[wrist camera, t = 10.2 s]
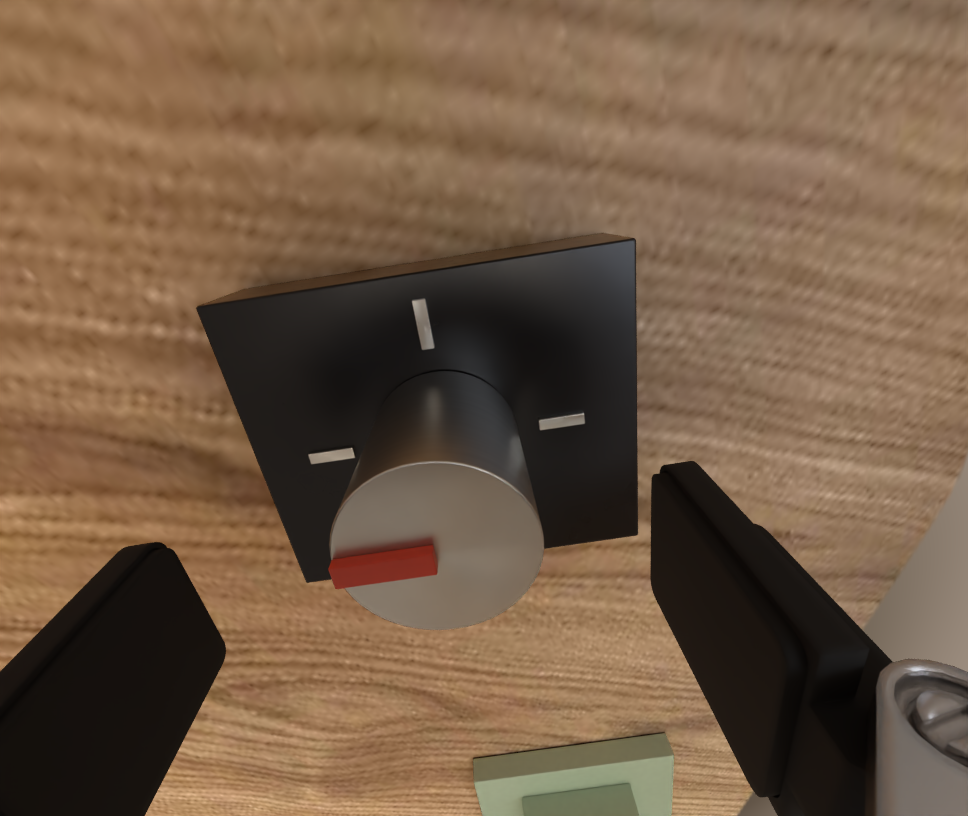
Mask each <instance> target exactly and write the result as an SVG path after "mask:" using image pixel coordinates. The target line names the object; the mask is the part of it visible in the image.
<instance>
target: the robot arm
mask: <svg viewBox="0 0 968 816" xmlns="http://www.w3.org/2000/svg"><path fill="white" fill-rule="evenodd" d="M651 585H652V590H653V593H654V596H655V598H656V600H657V602H658V604H659V606H660V608H661V610H662V612H663V614H664V616H665V618H666V620H667V622H668V624H669V626H670V628H671V630H672V632H673V634H674V636H675V638H676V640H677V642H678V644H679V646H680V648H681V650H682V652H683V654H684V656H685V658H686V660H687V662H688V664H689V666H690V668H691V670H692V672H693V674H694V676H695V678H696V680H697V682H698V684H699V686H700V688H701V690H702V692H703V694H704V696H705V698H706V699H707V701H708V703H709V705H710V707H711V709H712V711H713V713H714V715H715V717H716V719H717V721H718V723H719V725H720V727H721V729H722V731H723V733H724V735H725V737H726V739H727V741H728V743H729V745H730V747H731V749H732V751H733V753H734V755H735V757H736V759H737V761H738V763H739V765H740V767H741V769H742V771H743V773H744V775H745V777H746V779H747V781H748V783H749V784H750V786H751V788H752V789H753V791H754V792H755V793H756V794H757V795H758V796H759V797H768V798H769V800H770V802H771V804H772V806H773V807H774V810H775V811H776V813H777V815H778V816H968V672H966V671H964V670H961V669H959V668H957V667H954V666H950V665H947V664H942V663H939V662H935V661H931V660H919V659H905V660H901V661H897V662H892V661H891V660H890V659H889V658H888V657H887V655H886V654H884V652H883V651H882V650H881V649H880V648H879V647H878V646H877V645H876V644H875V643H874V642H873V641H872V640H871V639H870V638H869V637H868V636H867V635H866V634H865V632H864V631H863V630H862V629H861V628H860V627H859V626H858V625H857V624H856V623H855V622H854V621H853V620H852V619H851V618H850V617H849V616H848V615H847V614H846V613H845V612H844V610H843V609H842V608H841V607H840V606H839V605H838V604H837V603H836V602H835V601H834V600H833V599H832V598H831V597H830V596H829V595H828V594H827V593H826V592H825V591H824V590H823V588H822V587H821V586H820V585H819V584H818V583H817V582H816V581H815V580H814V579H813V578H812V577H811V576H810V575H809V574H808V573H807V572H806V571H805V570H804V569H803V568H802V567H801V565H800V564H799V563H798V562H797V561H796V560H795V559H794V558H793V557H792V556H791V555H790V554H789V553H788V552H787V551H786V550H785V549H784V548H783V547H782V546H781V545H780V543H779V542H778V541H777V540H776V539H775V538H774V537H773V536H772V535H771V534H770V533H769V532H768V531H767V530H765V529H764V528H763V527H762V526H759V525H757V524H753V523H752V522H751V521H750V519H749V518H748V517H747V516H746V515H745V514H744V513H743V512H742V511H741V510H740V509H739V508H738V507H737V506H736V504H735V503H734V502H733V501H732V500H731V499H730V498H729V497H728V496H727V495H726V494H725V493H724V492H723V491H722V489H721V488H720V487H719V486H718V485H717V484H716V483H715V482H714V481H713V480H712V479H711V478H710V477H709V476H708V474H707V473H706V472H705V471H704V470H703V469H702V468H701V467H700V466H699V465H698V464H697V463H696V462H694V461H688V462H681V463H675V464H668V465H663V466H662V467H661V469H660V474H654V475H653V477H652V489H651ZM225 654H226V647H225V643H224V641H223V639H222V637H221V635H220V633H219V631H218V630H217V628H216V626H215V624H214V622H213V620H212V619H211V617H210V615H209V613H208V611H207V609H206V608H205V606H204V604H203V602H202V600H201V598H200V597H199V595H198V593H197V591H196V589H195V588H194V586H193V584H192V582H191V580H190V578H189V577H188V575H187V573H186V571H185V569H184V567H183V566H182V564H181V562H180V560H179V558H178V556H177V555H176V553H175V552H174V550H172V549H170V548H167V547H166V545H164V544H162V543H159V542H154V543H147V544H140V545H134V546H128V547H125V548H123V549H121V550H120V551H119V552H118V553H117V554H116V555H115V556H114V557H113V558H112V559H111V560H110V561H109V562H108V563H107V564H106V565H105V566H104V567H103V568H102V569H101V570H100V571H99V572H98V573H97V574H96V575H95V576H94V577H93V578H92V579H91V580H90V581H89V582H88V583H87V584H86V585H85V586H84V587H83V588H82V589H81V590H80V591H79V592H78V593H77V594H76V595H75V596H74V597H73V598H72V599H71V600H70V601H69V602H68V603H67V604H66V605H65V606H64V607H63V608H62V609H61V610H60V611H59V612H58V614H57V615H56V616H55V617H54V618H53V619H52V620H51V621H50V622H49V623H48V624H47V625H46V626H45V627H44V628H43V629H42V630H41V631H40V632H39V633H38V634H37V635H36V636H35V637H34V638H33V639H32V640H31V641H30V642H29V643H28V644H27V645H26V646H25V647H24V648H23V649H22V650H21V651H20V652H19V653H18V654H17V655H16V656H15V657H14V658H13V659H12V660H11V661H10V662H9V663H8V664H7V665H6V666H5V667H4V668H3V669H2V670H1V671H0V816H145V814H146V812H147V810H148V808H149V806H150V804H151V802H152V800H153V798H154V796H155V794H156V793H157V791H158V789H159V787H160V785H161V783H162V781H163V779H164V777H165V775H166V773H167V771H168V769H169V767H170V765H171V763H172V761H173V760H174V758H175V756H176V754H177V752H178V750H179V748H180V746H181V744H182V742H183V740H184V738H185V736H186V734H187V732H188V730H189V728H190V726H191V725H192V723H193V721H194V719H195V717H196V715H197V713H198V711H199V709H200V707H201V705H202V703H203V701H204V699H205V697H206V695H207V693H208V692H209V690H210V688H211V686H212V684H213V682H214V680H215V678H216V676H217V674H218V672H219V670H220V668H221V666H222V664H223V662H224V659H225Z"/></svg>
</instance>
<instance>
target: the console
mask: <svg viewBox="0 0 968 816" xmlns="http://www.w3.org/2000/svg"><path fill="white" fill-rule="evenodd" d="M196 309H197V312H198V314H199V317H200V319H201V322H202V324H203V327H204V329H205V332H206V334H207V337H208V339H209V342H210V344H211V347H212V349H213V352H214V354H215V357H216V359H217V362H218V364H219V366H220V369H221V371H222V374H223V376H224V379H225V381H226V384H227V386H228V389H229V391H230V394H231V396H232V399H233V401H234V404H235V406H236V409H237V411H238V414H239V416H240V419H241V421H242V424H243V426H244V429H245V431H246V434H247V436H248V439H249V441H250V444H251V446H252V448H253V451H254V453H255V456H256V458H257V461H258V463H259V466H260V468H261V471H262V473H263V476H264V478H265V481H266V483H267V486H268V488H269V491H270V493H271V496H272V498H273V501H274V503H275V506H276V508H277V511H278V513H279V516H280V518H281V521H282V523H283V526H284V528H285V531H286V533H287V535H288V538H289V540H290V543H291V545H292V548H293V550H294V553H295V555H296V558H297V560H298V563H299V565H300V568H301V570H302V573H303V575H304V578H305V580H306V582H307V583H309V582H316V581H323V580H330V579H332V578H331V576H330V573H329V570H328V568H329V566H330V563H331V555H330V533H331V529H332V525H333V522H334V519H335V517H336V514H337V512H338V510H339V507H340V505H341V502H342V500H343V497H344V495H345V493H346V490H347V488H348V485H349V483H350V481H351V478H352V476H353V473H354V471H355V468H356V466H357V464H358V461H359V459H360V456H361V454H362V452H363V449H364V447H365V444H366V442H367V439H368V437H369V435H370V432H371V430H372V427H373V425H374V423H375V420H376V418H377V415H378V413H379V411H380V408H381V406H382V405H383V403H384V401H385V400H386V399H387V397H388V396H389V395H390V394H391V393H392V392H393V391H394V390H395V389H396V388H397V387H398V386H400V385H401V384H403V383H404V382H406V381H408V380H410V379H412V378H414V377H416V376H419V375H422V374H426V373H430V372H438V371H453V372H460V373H464V374H468V375H471V376H474V377H476V378H478V379H481V380H482V381H484V382H486V383H487V384H489V385H490V386H492V387H493V388H494V389H495V390H497V391H498V392H499V393H500V394H501V396H502V397H503V398H504V399H505V401H506V402H507V403H508V405H509V407H510V409H511V411H512V413H513V416H514V418H515V422H516V426H517V430H518V434H519V438H520V442H521V446H522V450H523V454H524V458H525V462H526V466H527V470H528V474H529V478H530V482H531V486H532V490H533V494H534V498H535V502H536V506H537V510H538V514H539V518H540V522H541V526H542V531H543V536H544V549H546V548H552V547H559V546H566V545H573V544H580V543H587V542H594V541H601V540H608V539H615V538H622V537H629V536H636V535H638V463H637V329H636V240H635V238H630V237H624V236H618V235H612V234H606V233H599V234H593V235H587V236H580V237H574V238H567V239H561V240H555V241H548V242H542V243H535V244H529V245H523V246H516V247H510V248H503V249H497V250H491V251H484V252H478V253H471V254H465V255H459V256H452V257H446V258H440V259H433V260H427V261H420V262H414V263H408V264H401V265H395V266H388V267H382V268H376V269H369V270H363V271H356V272H350V273H344V274H337V275H331V276H324V277H318V278H312V279H305V280H299V281H292V282H286V283H280V284H273V285H267V286H260V287H254V288H248V289H243V290H240V291H238V292H235V293H232V294H230V295H227V296H224V297H221V298H219V299H216V300H213V301H210V302H208V303H205V304H202V305H199V306H197V307H196Z"/></svg>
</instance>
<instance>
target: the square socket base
mask: <svg viewBox="0 0 968 816" xmlns="http://www.w3.org/2000/svg"><path fill="white" fill-rule="evenodd" d="M673 769H674V754H673V751H672V749H671V746H670V743H669V741H668V738H667V736H666V734H665V733H661V734H654V735H647V736H639V737H632V738H624V739H617V740H610V741H602V742H595V743H588V744H580V745H573V746H565V747H558V748H551V749H543V750H536V751H529V752H521V753H514V754H506V755H499V756H492V757H484V758H477V759H473V774H474V785H475V789H476V793H477V797H478V800H479V804H480V808H481V812H482V815H483V816H671V815H672V792H673Z"/></svg>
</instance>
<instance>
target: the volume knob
mask: <svg viewBox="0 0 968 816" xmlns="http://www.w3.org/2000/svg"><path fill="white" fill-rule="evenodd" d="M543 553H544V536H543V531H542V526H541V522H540V518H539V514H538V510H537V506H536V502H535V498H534V494H533V490H532V486H531V482H530V478H529V474H528V470H527V466H526V462H525V458H524V454H523V450H522V446H521V442H520V438H519V434H518V430H517V426H516V422H515V418H514V416H513V413H512V411H511V409H510V407H509V405H508V403H507V402H506V401H505V399H504V398H503V397H502V396H501V394H500V393H499V392H498V391H497V390H495V389H494V388H493V387H492V386H490V385H489V384H487V383H486V382H484V381H482V380H481V379H478V378H476V377H474V376H471V375H468V374H464V373H460V372H453V371H438V372H430V373H426V374H422V375H419V376H416V377H414V378H412V379H410V380H408V381H406V382H404V383H403V384H401V385H400V386H398V387H397V388H396V389H395V390H394V391H393V392H392V393H391V394H390V395H389V396H388V397H387V399H386V400H385V401H384V403H383V405H382V406H381V408H380V411H379V413H378V415H377V418H376V420H375V423H374V425H373V427H372V430H371V432H370V435H369V437H368V439H367V442H366V444H365V447H364V449H363V452H362V454H361V456H360V459H359V461H358V464H357V466H356V468H355V471H354V473H353V476H352V478H351V481H350V483H349V485H348V488H347V490H346V493H345V495H344V497H343V500H342V502H341V505H340V507H339V510H338V512H337V514H336V517H335V519H334V522H333V525H332V529H331V533H330V555H331V563H330V566H329V568H328V570H329V573H330V576H331V578H332V581H333V584H334V586H335V589H342V588H345V589H346V591H347V592H348V593H349V594H350V595H351V596H352V598H354V599H355V600H356V601H357V602H358V603H359V604H360V605H362V606H363V607H364V608H366V609H367V610H369V611H370V612H372V613H374V614H375V615H377V616H379V617H381V618H383V619H386V620H388V621H390V622H393V623H396V624H399V625H403V626H406V627H412V628H417V629H426V630H448V629H457V628H463V627H468V626H471V625H475V624H478V623H481V622H484V621H486V620H489V619H491V618H493V617H495V616H497V615H499V614H501V613H502V612H504V611H505V610H507V609H508V608H510V607H511V606H513V605H514V604H515V603H516V602H517V601H518V600H519V599H520V598H521V597H522V596H523V595H524V594H525V593H526V592H527V591H528V589H529V588H530V586H531V585H532V583H533V582H534V580H535V578H536V576H537V574H538V572H539V570H540V566H541V563H542V560H543Z"/></svg>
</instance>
